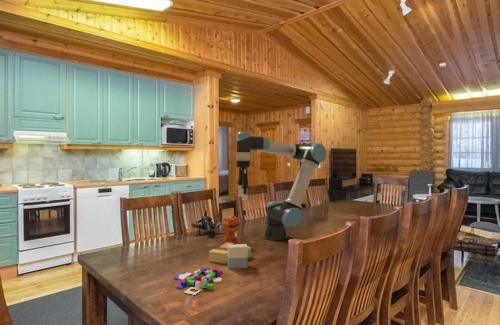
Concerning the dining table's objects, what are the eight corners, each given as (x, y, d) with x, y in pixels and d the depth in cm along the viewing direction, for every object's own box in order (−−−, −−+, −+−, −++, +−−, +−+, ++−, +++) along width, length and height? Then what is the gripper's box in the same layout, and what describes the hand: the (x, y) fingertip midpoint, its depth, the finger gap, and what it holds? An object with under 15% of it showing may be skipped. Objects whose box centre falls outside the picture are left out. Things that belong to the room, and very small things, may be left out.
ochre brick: (229, 260, 157) (229, 251, 156) (225, 263, 152) (225, 253, 152) (212, 258, 160) (213, 248, 159) (208, 261, 155) (208, 251, 155)
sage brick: (244, 255, 166) (244, 245, 166) (250, 256, 163) (250, 247, 163) (232, 259, 159) (232, 249, 159) (239, 261, 156) (239, 251, 156)
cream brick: (246, 254, 152) (246, 244, 152) (247, 257, 147) (247, 246, 147) (227, 255, 150) (227, 244, 150) (228, 258, 146) (228, 247, 146)
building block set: (192, 267, 148) (192, 258, 148) (231, 275, 140) (231, 265, 140) (157, 288, 125) (157, 277, 125) (201, 299, 117) (202, 287, 117)
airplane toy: (219, 229, 219) (219, 207, 218) (225, 236, 200) (226, 213, 200) (190, 231, 212) (190, 209, 212) (194, 239, 194) (194, 214, 194)
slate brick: (245, 264, 152) (246, 254, 152) (247, 267, 147) (247, 257, 147) (227, 265, 151) (227, 254, 150) (228, 268, 146) (228, 258, 146)
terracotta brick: (226, 251, 171) (226, 242, 171) (234, 252, 170) (234, 243, 170) (219, 256, 163) (219, 246, 163) (227, 257, 162) (227, 248, 161)
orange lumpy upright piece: (238, 248, 176) (238, 217, 175) (219, 247, 178) (219, 216, 177) (242, 243, 187) (242, 213, 186) (224, 241, 189) (225, 212, 188)
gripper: (233, 159, 184) (233, 195, 185) (239, 160, 159) (239, 202, 160) (246, 159, 185) (245, 195, 186) (254, 160, 161) (253, 201, 162)
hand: (242, 198), depth 173 cm, fingers open, 13 cm apart
